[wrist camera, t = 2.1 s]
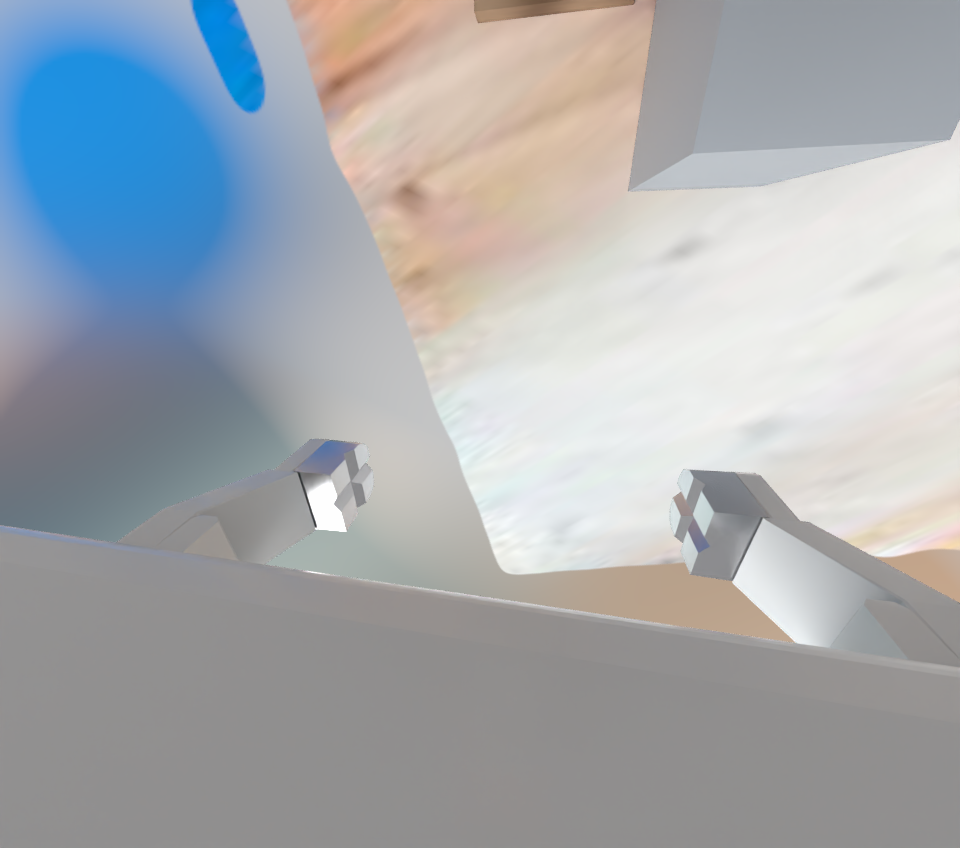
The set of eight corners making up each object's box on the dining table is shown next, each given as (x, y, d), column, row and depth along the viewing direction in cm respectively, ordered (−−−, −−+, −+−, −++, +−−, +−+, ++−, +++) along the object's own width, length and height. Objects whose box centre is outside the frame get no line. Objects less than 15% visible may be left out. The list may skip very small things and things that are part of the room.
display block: (841, -91, 21) (1305, -609, 8) (761, 186, 28) (950, 139, 15) (666, -65, 23) (822, -466, 10) (628, 191, 29) (692, 153, 16)
